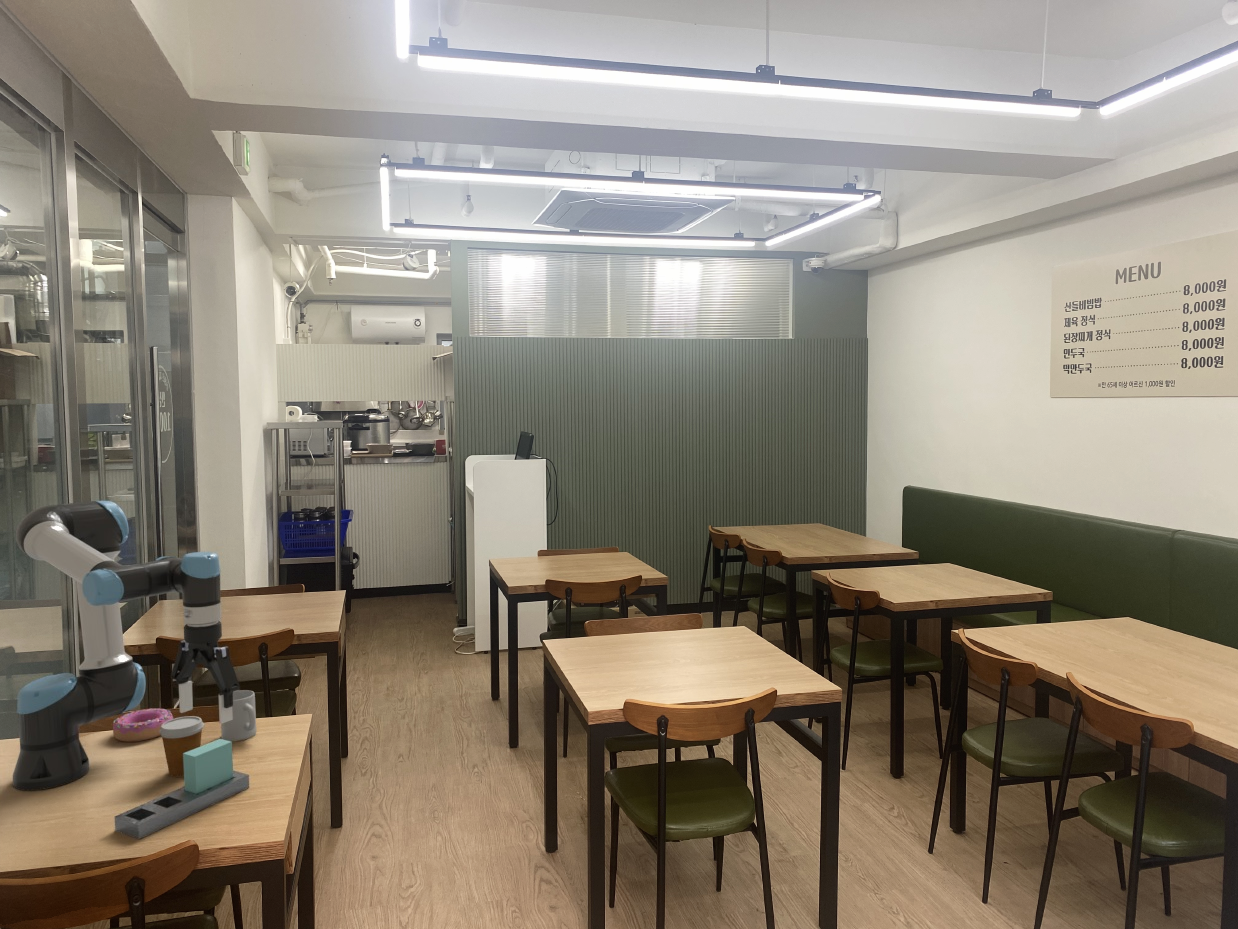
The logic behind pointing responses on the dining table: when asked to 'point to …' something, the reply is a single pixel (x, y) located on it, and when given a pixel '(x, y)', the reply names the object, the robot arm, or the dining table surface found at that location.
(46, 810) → the dining table surface
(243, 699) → the mug
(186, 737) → the disposable coffee cup
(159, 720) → the donut
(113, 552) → the robot arm
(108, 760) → the dining table surface
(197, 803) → the grey long flat bar
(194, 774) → the mint green arch block
